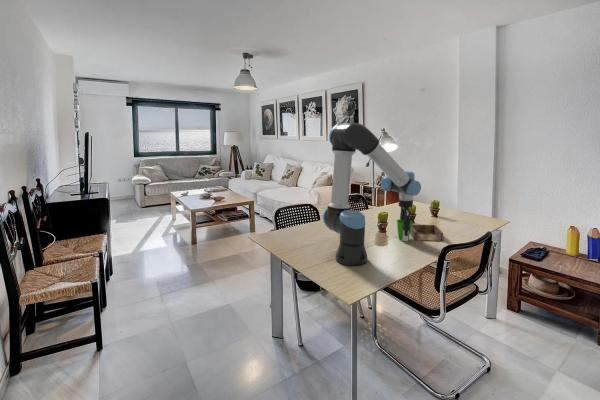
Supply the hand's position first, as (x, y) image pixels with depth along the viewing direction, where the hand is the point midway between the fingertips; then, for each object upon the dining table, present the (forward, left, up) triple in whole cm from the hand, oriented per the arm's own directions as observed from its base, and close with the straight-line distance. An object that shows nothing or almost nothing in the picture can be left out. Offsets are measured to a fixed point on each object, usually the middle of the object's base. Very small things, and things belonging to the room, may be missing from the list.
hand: (403, 238), depth 185 cm
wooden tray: (+13, +7, -1) cm, 15 cm away
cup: (0, 0, -1) cm, 1 cm away
